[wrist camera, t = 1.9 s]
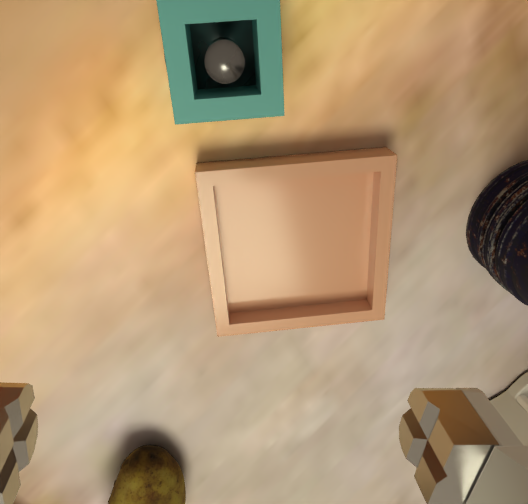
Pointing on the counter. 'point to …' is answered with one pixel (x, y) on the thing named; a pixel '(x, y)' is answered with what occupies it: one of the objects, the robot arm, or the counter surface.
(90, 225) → the counter surface
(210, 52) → the grey peg stand
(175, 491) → the potato
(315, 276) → the tray
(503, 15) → the counter surface
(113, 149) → the counter surface
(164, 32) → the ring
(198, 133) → the counter surface
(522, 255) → the storage jar
